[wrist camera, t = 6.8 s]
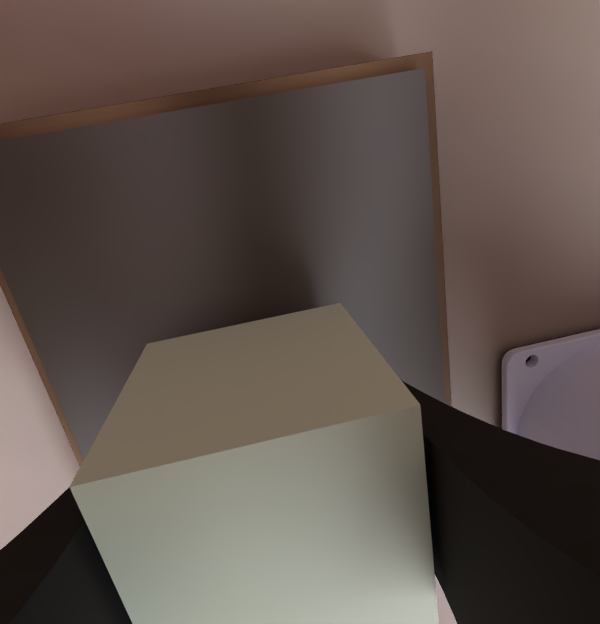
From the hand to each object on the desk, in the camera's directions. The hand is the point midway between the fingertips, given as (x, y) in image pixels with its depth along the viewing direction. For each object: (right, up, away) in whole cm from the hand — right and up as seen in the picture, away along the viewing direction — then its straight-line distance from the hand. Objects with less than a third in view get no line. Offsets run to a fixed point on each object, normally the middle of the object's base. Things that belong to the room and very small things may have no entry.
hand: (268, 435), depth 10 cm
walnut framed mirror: (-1, +2, +5) cm, 5 cm away
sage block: (0, 0, +1) cm, 1 cm away
